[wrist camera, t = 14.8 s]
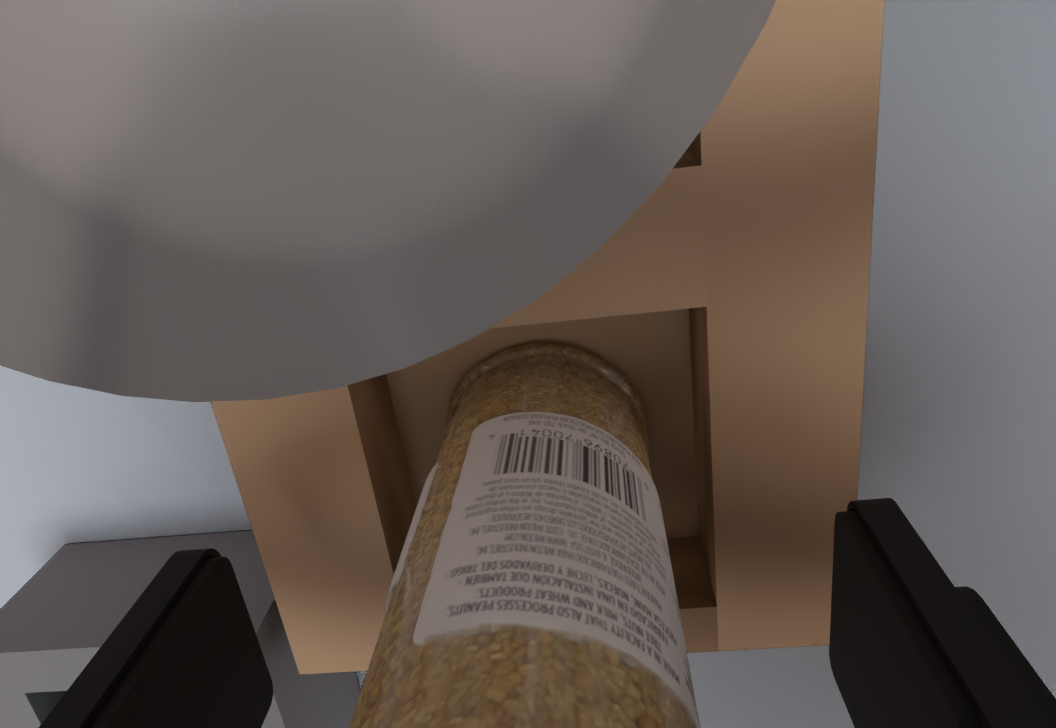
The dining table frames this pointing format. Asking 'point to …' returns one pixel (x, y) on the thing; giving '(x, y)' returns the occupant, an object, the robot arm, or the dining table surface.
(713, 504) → the wooden compartment tray
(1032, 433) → the dining table surface
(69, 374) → the billet
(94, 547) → the gray square box
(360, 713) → the sprinkles bottle
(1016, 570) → the dining table surface
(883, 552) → the robot arm
